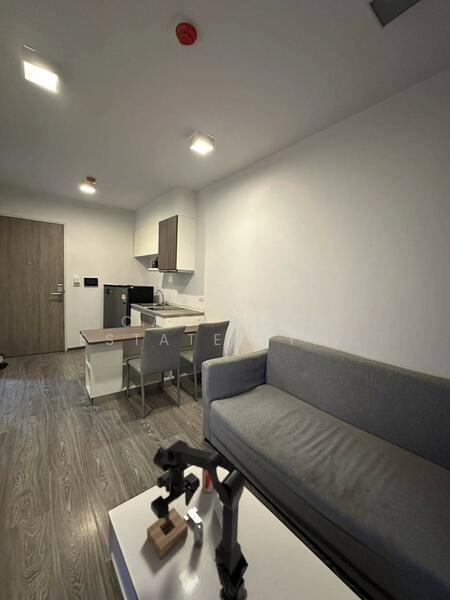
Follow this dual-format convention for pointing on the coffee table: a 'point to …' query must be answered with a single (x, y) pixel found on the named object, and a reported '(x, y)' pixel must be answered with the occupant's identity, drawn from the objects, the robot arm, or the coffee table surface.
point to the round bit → (198, 535)
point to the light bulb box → (218, 508)
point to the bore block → (169, 541)
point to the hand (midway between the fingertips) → (177, 513)
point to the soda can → (207, 481)
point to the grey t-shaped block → (192, 516)
